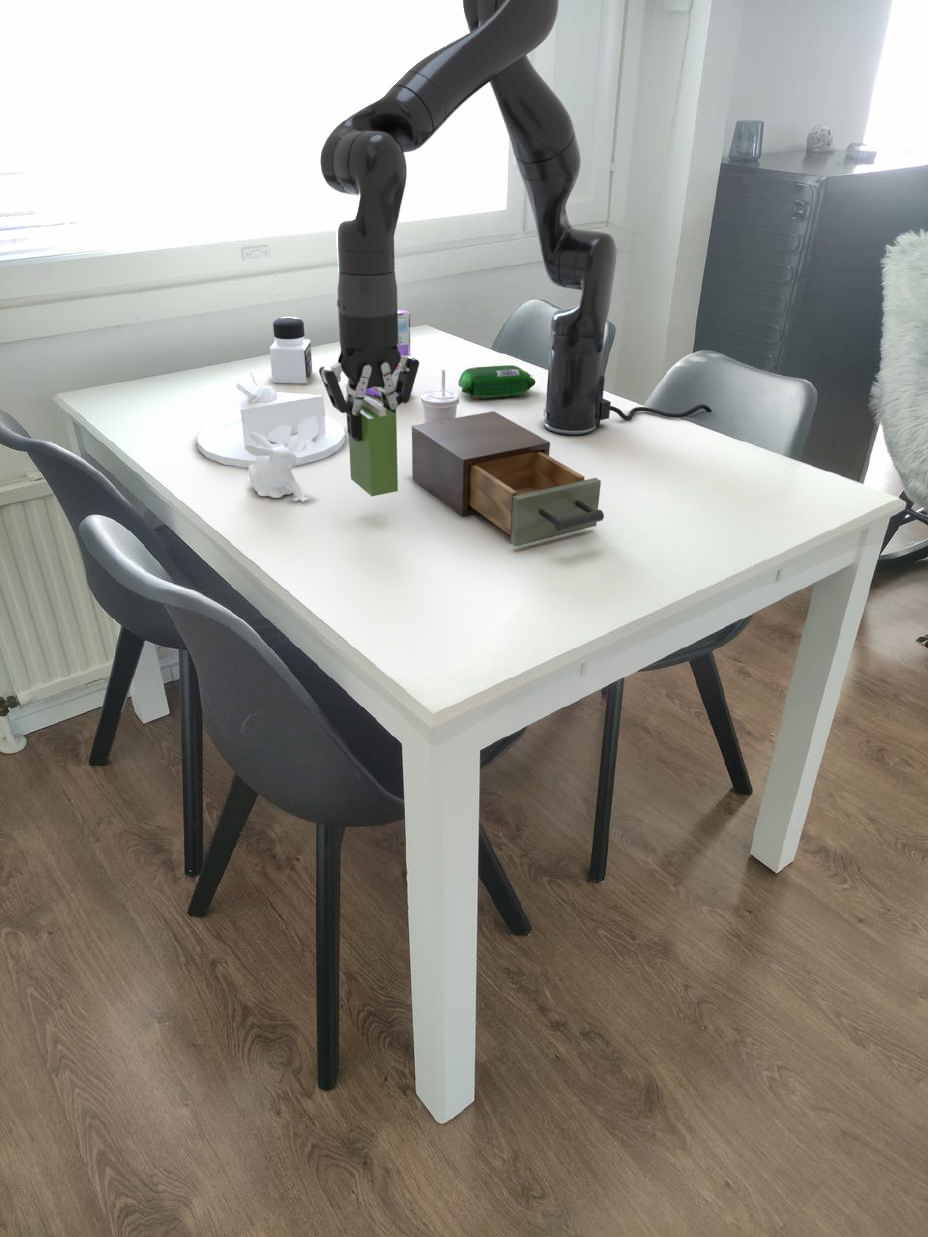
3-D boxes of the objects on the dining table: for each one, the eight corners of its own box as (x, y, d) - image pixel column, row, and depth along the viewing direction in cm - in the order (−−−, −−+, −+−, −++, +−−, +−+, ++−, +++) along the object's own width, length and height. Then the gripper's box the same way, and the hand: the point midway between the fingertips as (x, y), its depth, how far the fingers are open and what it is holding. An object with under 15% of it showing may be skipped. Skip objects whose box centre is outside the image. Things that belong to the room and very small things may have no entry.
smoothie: (454, 460, 151) (455, 376, 144) (416, 457, 152) (415, 373, 145) (462, 447, 156) (463, 365, 149) (425, 443, 157) (425, 362, 150)
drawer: (620, 541, 125) (625, 494, 121) (537, 563, 119) (540, 515, 115) (538, 489, 139) (541, 446, 136) (461, 506, 133) (462, 462, 130)
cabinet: (546, 497, 139) (550, 442, 134) (462, 516, 133) (463, 459, 128) (492, 462, 151) (493, 410, 146) (412, 479, 144) (411, 425, 140)
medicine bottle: (307, 384, 185) (302, 323, 178) (272, 383, 185) (266, 322, 178) (312, 373, 191) (308, 314, 185) (278, 373, 191) (273, 314, 185)
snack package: (539, 398, 180) (541, 371, 177) (462, 402, 177) (463, 375, 174) (528, 387, 186) (530, 361, 183) (454, 391, 182) (454, 365, 180)
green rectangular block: (350, 478, 130) (346, 396, 124) (376, 473, 132) (373, 392, 125) (371, 496, 125) (368, 411, 119) (398, 491, 127) (396, 406, 120)
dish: (196, 472, 145) (186, 403, 139) (201, 420, 166) (192, 357, 160) (351, 463, 149) (348, 395, 143) (337, 413, 170) (334, 352, 164)
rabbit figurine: (311, 501, 136) (306, 439, 131) (264, 513, 133) (257, 450, 127) (275, 475, 145) (270, 415, 139) (230, 485, 141) (223, 425, 136)
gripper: (327, 319, 110) (335, 454, 119) (431, 308, 116) (431, 437, 125) (304, 306, 115) (313, 436, 124) (404, 296, 122) (406, 420, 130)
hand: (372, 436), depth 125 cm, fingers closed on green rectangular block, 4 cm apart
